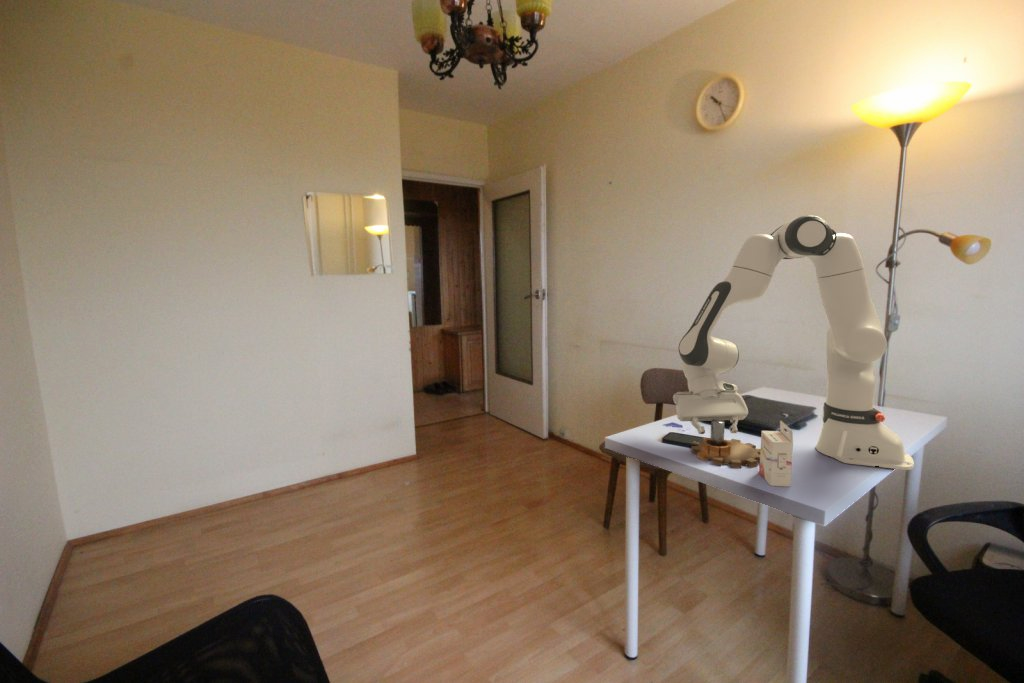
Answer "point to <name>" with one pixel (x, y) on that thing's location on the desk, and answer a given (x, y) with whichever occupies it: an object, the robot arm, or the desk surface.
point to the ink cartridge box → (776, 456)
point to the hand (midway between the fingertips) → (718, 432)
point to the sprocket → (728, 453)
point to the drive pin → (717, 433)
